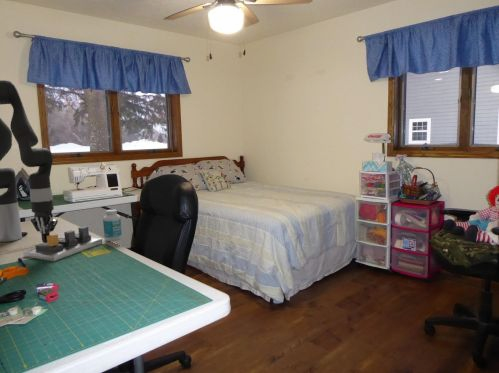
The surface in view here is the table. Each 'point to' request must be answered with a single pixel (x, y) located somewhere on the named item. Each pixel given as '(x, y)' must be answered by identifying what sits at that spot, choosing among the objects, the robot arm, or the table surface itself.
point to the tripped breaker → (52, 239)
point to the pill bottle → (112, 226)
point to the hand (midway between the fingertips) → (46, 242)
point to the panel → (56, 257)
